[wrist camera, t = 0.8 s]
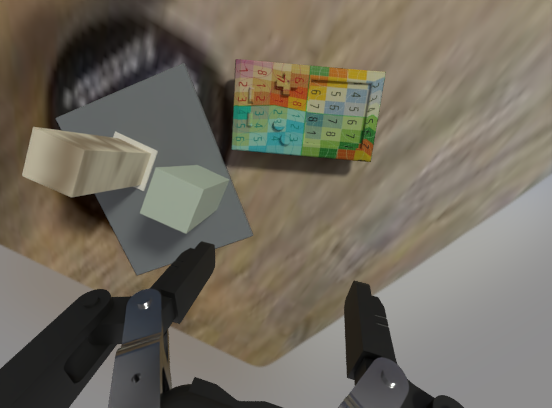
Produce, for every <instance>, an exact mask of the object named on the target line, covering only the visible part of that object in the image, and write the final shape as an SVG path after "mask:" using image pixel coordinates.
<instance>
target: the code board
mask: <svg viewBox="0 0 552 408" xmlns="http://www.w3.org/2000/svg"><path fill="white" fill-rule="evenodd" d="M56 120H57V122H58V124H59V126H60V128H61V130H62V131H68V132H76V133H83V134H91V135H98V136H106V137H113V138H119V139H121V140H123V141H125V142H127V143H130V144H132V145H134V146H136V147H138V148H140V149H143V150H145V151H147V152H149V153H151V156H150V159H149V162H148V164H147V167H146V170H145V173H144V176H143V179H142V182H141V185H138V186H133V187H127V188H122V189H116V190H110V191H105V192H99V193H95V195H96V197H97V199H98V201H99V203H100V205H101V207H102V209H103V211H104V213H105V215H106V217H107V218H108V220H109V222H110V224H111V226H112V228H113V230H114V232H115V234H116V236H117V238H118V240H119V242H120V243H121V245H122V247H123V249H124V251H125V253H126V255H127V257H128V259H129V261H130V263H131V265H132V267H133V268H134V270H135V272H136V274H137V275H139V274H142V273H145V272H148V271H151V270H154V269H157V268H160V267H163V266H165V265H168V264H171V263H173V262H174V261H176V259H177V258H178V256H179V255H180V254H181V253H182V252H184V251H186V250H187V249H189V248H194V249H195V247H196V246H197V245H198V244H199V243H200V242H201V241H203V242H207V243H211V244H214V245H215V248H218V247H221V246H224V245H227V244H230V243H233V242H236V241H239V240H241V239H244V238H247V237H250V236H253V233H252V230H251V228H250V225H249V223H248V220H247V218H246V215H245V213H244V210H243V208H242V205H241V203H240V200H239V198H238V195H237V193H236V190H235V188H234V185H233V183H232V180H231V178H230V175H229V173H228V170H227V168H226V165H225V163H224V160H223V158H222V155H221V153H220V150H219V148H218V145H217V143H216V140H215V138H214V135H213V133H212V130H211V128H210V125H209V123H208V120H207V118H206V115H205V113H204V110H203V108H202V105H201V103H200V100H199V98H198V95H197V93H196V90H195V88H194V85H193V83H192V80H191V78H190V75H189V73H188V70H187V68H186V65H185V64H184V63H183V64H181V65H178V66H176V67H174V68H171V69H169V70H167V71H164V72H162V73H160V74H157V75H155V76H153V77H150V78H148V79H146V80H143V81H141V82H139V83H136V84H134V85H132V86H129V87H127V88H125V89H122V90H120V91H118V92H115V93H113V94H111V95H108V96H106V97H104V98H101V99H99V100H97V101H95V102H92V103H90V104H88V105H85V106H83V107H81V108H78V109H76V110H74V111H71V112H69V113H67V114H64V115H62V116H60V117H57V118H56ZM189 165H199V166H201V167H203V168H205V169H208V170H210V171H212V172H214V173H216V174H218V175H221V176H223V177H225V178H227V179H229V182H228V185H227V187H226V190H225V192H224V194H223V197H222V199H221V201H220V204H219V206H218V208H217V210H216V211H215V212H214V213H212V214H211V215H210V216H208V217H207V218H206V219H205V220H203V221H202V222H201V223H199V224H198V225H197V226H195V227H194V228H193V229H192V230H190V231H189V232H188V233H183V232H181V231H179V230H176V229H174V228H172V227H170V226H167V225H165V224H163V223H161V222H158V221H156V220H154V219H152V218H149V217H147V216H145V215H143V214H140V211H141V208H142V205H143V202H144V199H145V197H146V194H147V191H148V188H149V185H150V182H151V180H152V177H153V174H154V171H155V168H156V167H172V166H189Z"/></svg>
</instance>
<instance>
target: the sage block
mask: <svg viewBox="0 0 552 408" xmlns="http://www.w3.org/2000/svg"><path fill="white" fill-rule="evenodd" d="M228 182H229V179H227V178H225V177H223V176H221V175H218V174H216V173H214V172H212V171H210V170H208V169H205V168H203V167H201V166H199V165H189V166H172V167H156V168H155V171H154V174H153V177H152V180H151V182H150V185H149V188H148V191H147V194H146V197H145V199H144V202H143V205H142V208H141V211H140V214H143V215H145V216H147V217H149V218H152V219H154V220H156V221H158V222H161V223H163V224H165V225H167V226H170V227H172V228H174V229H176V230H179V231H181V232H183V233H188V232H189V231H190V230H192V229H193V228H194V227H195V226H197V225H198V224H199V223H201V222H202V221H203V220H205V219H206V218H207V217H208V216H210V215H211V214H212V213H214V212H215V211H216V210H217V208H218V206H219V204H220V201H221V199H222V197H223V194H224V192H225V190H226V187H227V185H228Z"/></svg>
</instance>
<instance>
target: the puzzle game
mask: <svg viewBox="0 0 552 408" xmlns="http://www.w3.org/2000/svg"><path fill="white" fill-rule="evenodd" d="M385 74H386V72H378V71H367V70H355V69H343V68H332V67H320V66H308V65H296V64H285V63H274V62H264V61H253V60H242V59H236V62H235V84H234V105H233V127H232V149H231V150H240V151H252V152H263V153H274V154H286V155H297V156H308V157H319V158H331V159H342V160H353V161H365V162H371V157H372V151H373V145H374V139H375V133H376V127H377V121H378V115H379V109H380V103H381V97H382V91H383V85H384V80H385Z"/></svg>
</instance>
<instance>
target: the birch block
mask: <svg viewBox="0 0 552 408" xmlns="http://www.w3.org/2000/svg"><path fill="white" fill-rule="evenodd" d="M150 156H151V153H149V152H147V151H145V150H143V149H140V148H138V147H136V146H134V145H132V144H130V143H127V142H125V141H123V140H121V139H119V138H113V137H106V136H98V135H91V134H83V133H76V132H68V131H61V130H53V129H46V128H38V127H33V130H32V135H31V139H30V143H29V148H28V152H27V156H26V161H25V165H24V169H23V174H22V176H24V177H26V178H28V179H30V180H33V181H35V182H37V183H40V184H42V185H44V186H46V187H49V188H51V189H53V190H56V191H58V192H60V193H62V194H65V195H67V196H69V197H77V196H82V195H88V194H94V193H99V192H105V191H110V190H116V189H122V188H127V187H133V186H138V185H141V182H142V179H143V176H144V173H145V170H146V167H147V164H148V162H149V159H150Z"/></svg>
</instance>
